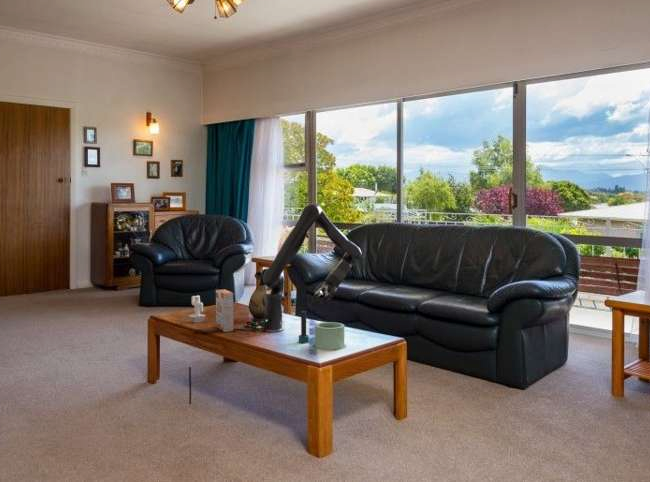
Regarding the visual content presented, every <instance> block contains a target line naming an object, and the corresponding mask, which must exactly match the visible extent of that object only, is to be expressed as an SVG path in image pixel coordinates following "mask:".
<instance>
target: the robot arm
mask: <svg viewBox="0 0 650 482" xmlns="http://www.w3.org/2000/svg"><path fill="white" fill-rule="evenodd" d="M314 223H316V224H317V225H318V226H319V227H320V228H321V229H322V231H323V232H324V234H325V235H326V236H327V239H329V240H330V241H331V243H332V244H334V246H335V247H336V248H337V249H338V250H340V251H341V250H342V251H344V252H345V253H344V255H343V256H342V257H341V259H340V261H339V262H338V263H337V265H335V267H334V268H333V269H332V270H331V271H330V272H329V274H328V275H327V277H326V278H325V279H324V284H322V283H319V284H318V285H317V287H316V288H315V289H314V291H313V293H314V295H313V296H312V297H311V298H310V300H311V302H312V303H316V301H317V300H318V298H319V297H320V296H323V298H322V299H321V300H320V304H321V305H322V306H324V305H325V304H326V303H327V301H328V300H332V299H334V297H335V295H336V294H337V293H338V291H339V289H338V288H339V287H340V285H341V284H342V282H343V281H344V280H345V278H346V276H347V275H348V274H349V272H350V271H351V269H352V266H354V264H355V263H356V262H357V261H358V260H360V259H361V257H362V250H361V248H360V247H359V246H358V245H356V244H355V243H354V242H352V241H351V240H349V239H348V238H347V236H346V235H344V234H343V232H342V231H341V230H340V229H339V228H337V226H336V225H335V224H334V223H333V222H332V220H330V219H329V217H328V216H327V215H326V213H325V211H324V210H323V209H322V208H321V206H320V204H318V203H317V202H310V203H308V204H306V205H304V207H303V209H302V210H301V213H300V216H299V218H298V220H297V222H296V223H295V225H294V226H293V228H292V229H291V230H290V232H289V233H288V235H287V236H286V238H285V240H284V241H283V243H282V245H281V247H280V248H279V250H278V252H277V253H276V256H275V258H274V259H273V260H272V262H271V264H270V265H269V266H268V269H267V268H266V269H267V271H266V272H265V273H264V276H263V282H264V284H265V285H266V286H268V289H267V292H266V293H265V314H264V320H262V321H260V323H258V324H256V325H255V326H254V327H253V329H245V328H233V331H243V332H255V331H256V330H257V327H260V328H263V329H264V330H263V331H264V332H268V333H269V332H271V333H277V332H281V331H283V295H284V285H285V284H284V283H285V278H284V273H283V272H284V271H285V268H286V267H287V266H288V265H289V264H290V263H291V262H292V261H293V259H294V258H295V257H296V256H297V255H298V253H299V252H300V250H301V248H302V246H303V245H304V242H305V240H306V237H307V234H308V232H309V231H310V229H311V227H312V226H313V224H314ZM198 332H200V333H205V334H210V333H220V332H223V330H220V329H216V330H204V329H197V330H195V331H194V332H193V334H197V333H198ZM191 368H192V367H191V366H189V367H188V385H189V386H188V387H189V389H188V390H189V392H188V393H189V394H188V397H189V398H188V399H189V400H188V401H189V402H188V405H189V404H191V405H192V369H191Z"/></svg>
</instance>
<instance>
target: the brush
mask: <svg viewBox="0 0 650 482" xmlns="http://www.w3.org/2000/svg"><path fill="white" fill-rule="evenodd" d="M300 319H301V320H300V334H298V343H300V344H307V343H308V344H309V342H310V341H309V340H310V336H309V334H307V311H306V310H302V311H300Z"/></svg>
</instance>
